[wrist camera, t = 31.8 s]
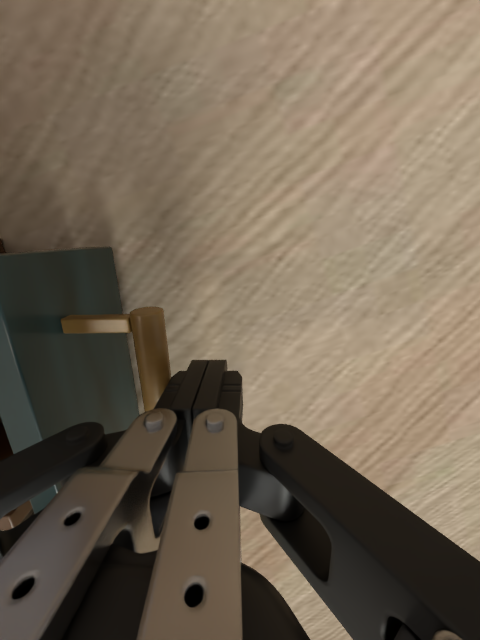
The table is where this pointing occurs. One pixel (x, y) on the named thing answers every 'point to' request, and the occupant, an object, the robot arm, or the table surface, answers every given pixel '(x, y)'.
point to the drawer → (70, 352)
